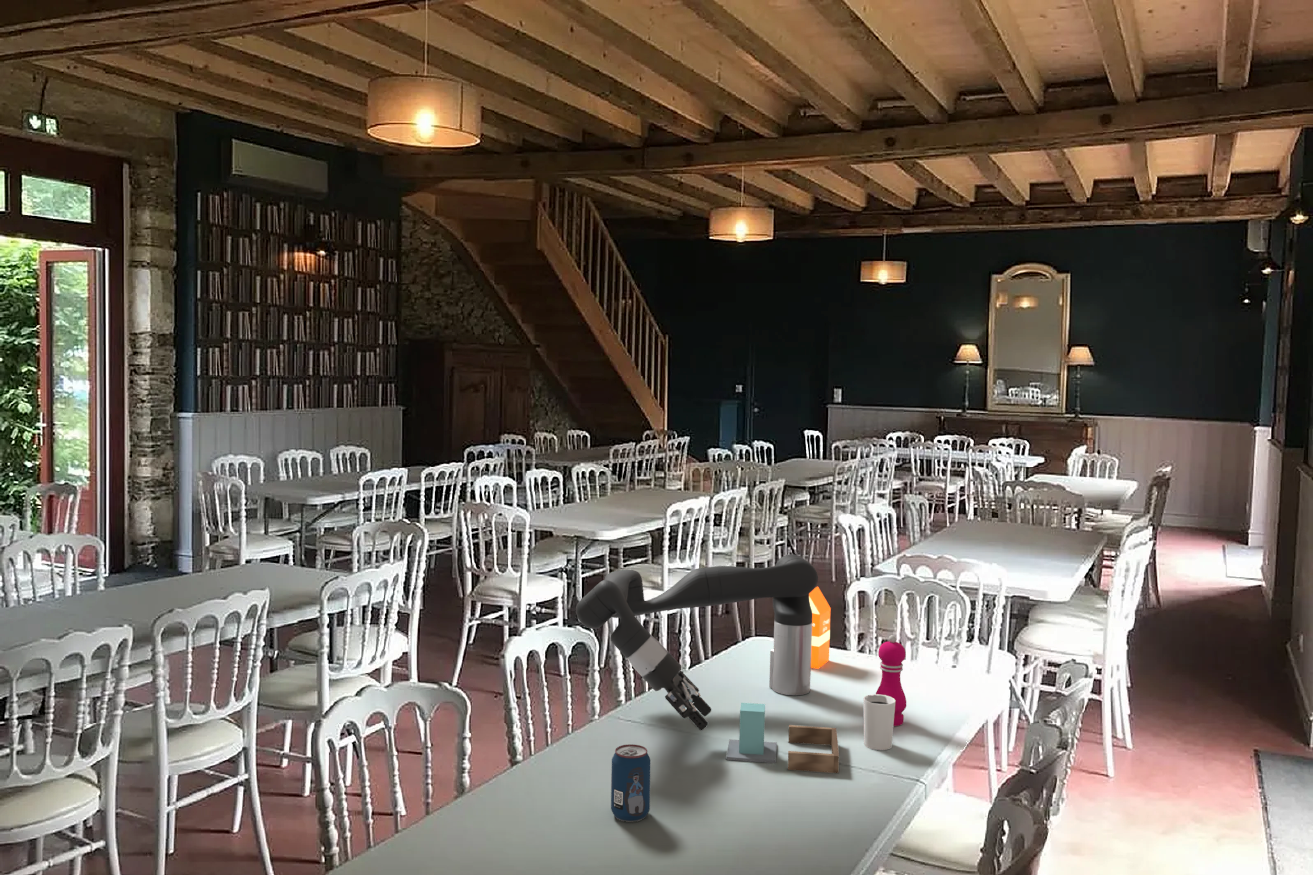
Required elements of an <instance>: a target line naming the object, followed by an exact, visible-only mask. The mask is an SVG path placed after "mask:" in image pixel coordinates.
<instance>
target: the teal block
mask: <svg viewBox="0 0 1313 875" xmlns="http://www.w3.org/2000/svg"><path fill="white" fill-rule="evenodd" d="M765 722H766V704H765V703H755V702H754V703H752V702H740V708H739V738H738V740H739V753H744V754H759V755H763V753H764V742H765V725H766V724H765Z"/></svg>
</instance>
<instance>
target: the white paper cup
mask: <svg viewBox="0 0 1313 875" xmlns="http://www.w3.org/2000/svg"><path fill="white" fill-rule="evenodd" d="M862 701H863V745H864V747H866V748H867V749H871V750H875V751H886V750H889V749H892V746H893V735H894V726H893V724H894V713H895V699H894V698H892V697H890V696H886V695H880V694H876V693H875V694H867V695H865V696H863V700H862Z"/></svg>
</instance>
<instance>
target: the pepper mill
mask: <svg viewBox="0 0 1313 875" xmlns="http://www.w3.org/2000/svg"><path fill="white" fill-rule="evenodd" d="M897 639H898V638H897V637H896V635H894V634H891V635H889V636H888V641H885V642H883V643H882V644H881V645H880V646H879V648H878V653H877V654H878V658H879V659H880V660H881V662H880V663H879V665H880V667H879V668H880V670H881V681H880V684H879V686H878V688H877V690H876V692H875V694H880V695H886V696H890V697H892V698H894V699H895V713H894V724H893V727H899V726H902V725H903V724H904V719H905V718H904V717H905V716H904V714H903V712H904V711H905V710H906V708H907V698H906V695H905V692H904V690H903V687H902V683H901V673H902V672H903V670H904V668H903V666H904V664H903V661H905V659H906V656H907V654H906V649H905V647H904V646H903V645H902V644H901V643H900V642H898V641H897Z"/></svg>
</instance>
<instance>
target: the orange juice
mask: <svg viewBox="0 0 1313 875" xmlns="http://www.w3.org/2000/svg"><path fill="white" fill-rule="evenodd" d="M809 602H810V606H811V610H812V646H811V669H817V670H818V669H820V668H822V667H823V666H825V664H826V663H828V662H829V660H830V641H831V640H830V639H831V609H832V607H830V605H829V602H828V601H827V599H826V598H825V596H824V594H823V592H822V591H821V589H820V587H819V586H816V587H815V588H814V590H813V591H812V592H810V593H809Z"/></svg>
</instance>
